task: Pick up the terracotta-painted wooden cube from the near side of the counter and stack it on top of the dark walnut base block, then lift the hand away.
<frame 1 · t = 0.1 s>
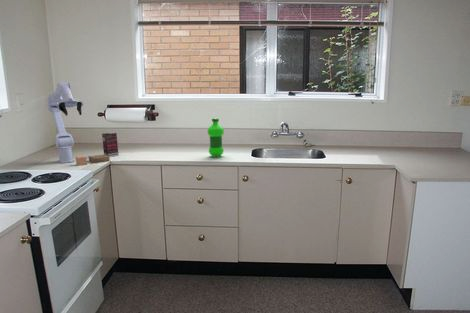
hand: (73, 114, 221), 32 cm above the countertop, tool tilted 50°, fingers open, 7 cm apart
supplement box: (111, 156, 265), on the countertop
terracotta cube: (81, 164, 239), on the countertop
walnut base: (99, 160, 249), on the countertop
plastic bottle: (216, 156, 257), on the countertop
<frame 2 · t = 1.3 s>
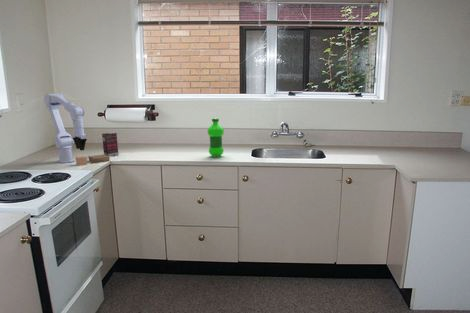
hand: (80, 149, 237), 9 cm above the countertop, tool pointing down, fingers open, 7 cm apart
nothing on the countertop moved.
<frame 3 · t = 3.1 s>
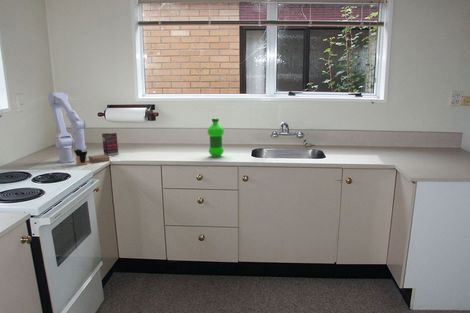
hand: (81, 161, 238), 2 cm above the countertop, tool pointing down, fingers closed on terracotta cube, 5 cm apart
terracotta cube: (81, 164, 239), on the countertop, touching gripper
everything else where it was.
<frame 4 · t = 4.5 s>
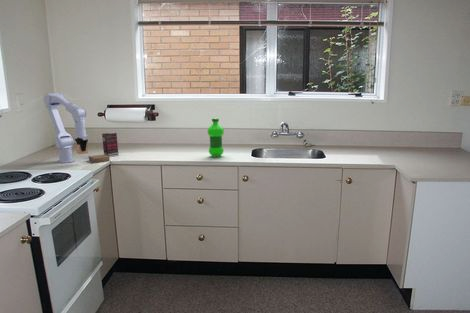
hand: (82, 150, 238), 9 cm above the countertop, tool pointing down, fingers closed on terracotta cube, 5 cm apart
terracotta cube: (82, 153, 238), point 7 cm above the countertop, touching gripper
everything else where it was.
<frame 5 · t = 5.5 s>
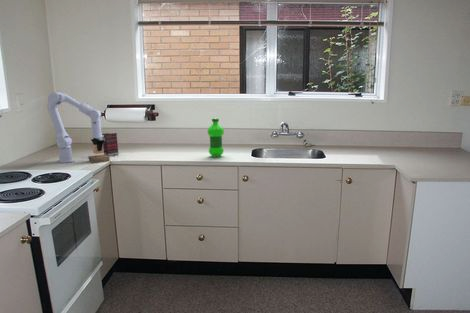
hand: (98, 150, 248), 7 cm above the countertop, tool pointing down, fingers closed on terracotta cube, 5 cm apart
terracotta cube: (98, 152, 248), point 5 cm above the countertop, touching gripper
everything else where it was.
when the fingers open (6 cm above the countertop, at t = 6.2 s): terracotta cube stays where it is, resting on walnut base.
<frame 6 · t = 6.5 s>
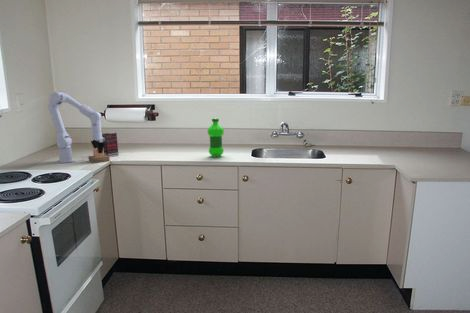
hand: (98, 152, 248), 6 cm above the countertop, tool pointing down, fingers open, 7 cm apart
terracotta cube: (98, 156, 248), point 3 cm above the countertop, touching walnut base
everything else where it was.
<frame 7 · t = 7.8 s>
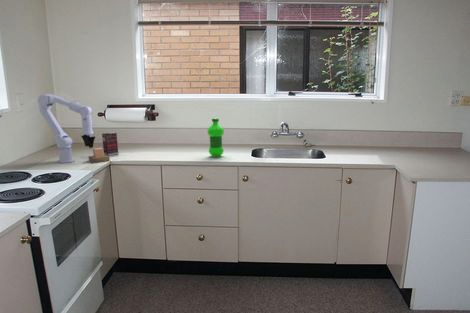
hand: (89, 146, 246), 9 cm above the countertop, tool pointing down, fingers open, 7 cm apart
nothing on the countertop moved.
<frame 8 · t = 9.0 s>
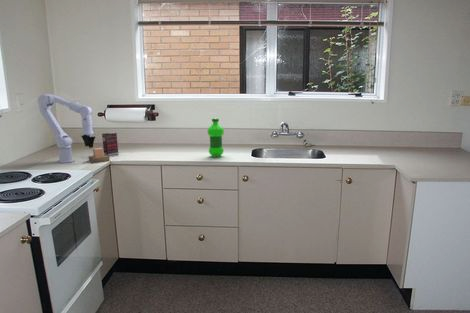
hand: (89, 146, 246), 9 cm above the countertop, tool pointing down, fingers open, 7 cm apart
nothing on the countertop moved.
at the end: terracotta cube 0.1 cm off-centre on the walnut base, point 3.0 cm above the walnut base's base; terracotta cube tilted 0°; the gripper is holding nothing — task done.
